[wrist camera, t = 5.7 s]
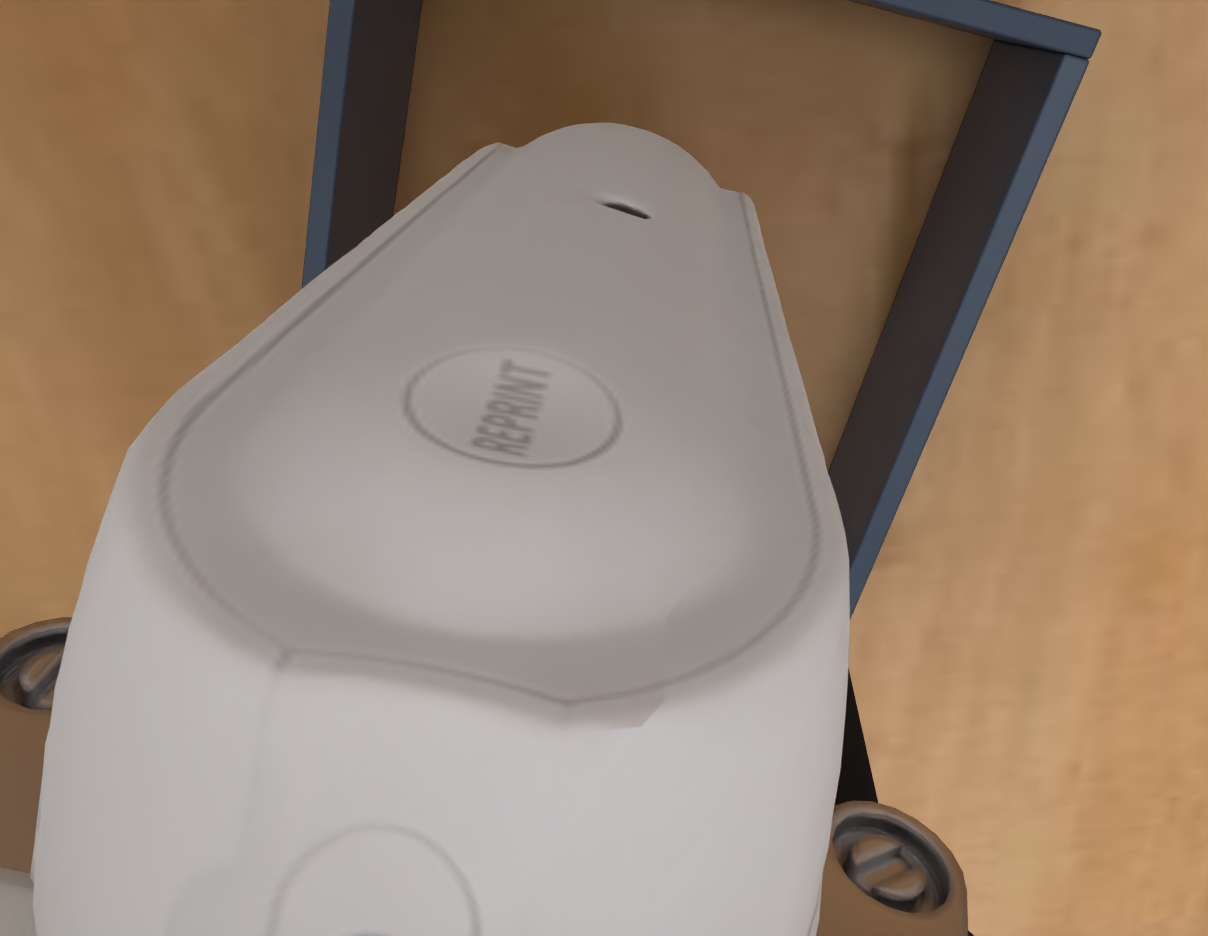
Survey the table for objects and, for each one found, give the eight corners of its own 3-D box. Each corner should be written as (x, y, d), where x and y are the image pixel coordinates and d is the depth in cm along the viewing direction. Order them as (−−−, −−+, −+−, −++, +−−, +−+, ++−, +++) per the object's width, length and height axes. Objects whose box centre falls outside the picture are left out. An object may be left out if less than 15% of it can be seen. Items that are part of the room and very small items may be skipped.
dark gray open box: (419, -140, 22) (345, -172, 18) (1024, 21, 22) (1103, 30, 18) (339, 478, 29) (273, 568, 25) (798, 595, 29) (814, 704, 25)
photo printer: (471, 81, 13) (-607, 658, 2) (785, 144, 13) (1250, 1010, 2) (407, 678, 18) (-41, 1805, 7) (639, 722, 18) (560, 1912, 7)
